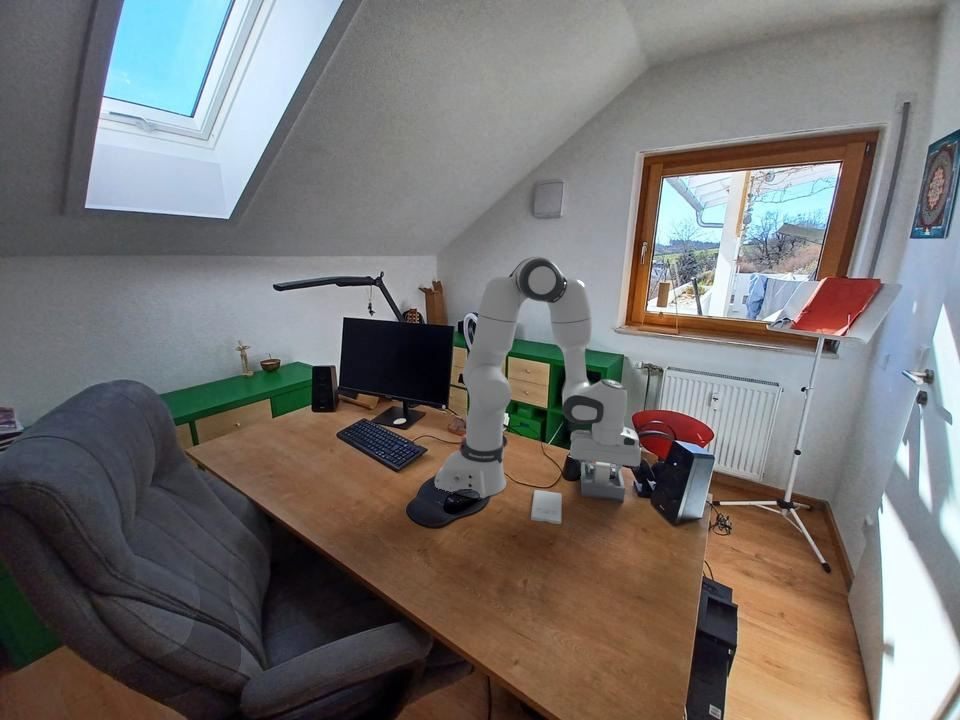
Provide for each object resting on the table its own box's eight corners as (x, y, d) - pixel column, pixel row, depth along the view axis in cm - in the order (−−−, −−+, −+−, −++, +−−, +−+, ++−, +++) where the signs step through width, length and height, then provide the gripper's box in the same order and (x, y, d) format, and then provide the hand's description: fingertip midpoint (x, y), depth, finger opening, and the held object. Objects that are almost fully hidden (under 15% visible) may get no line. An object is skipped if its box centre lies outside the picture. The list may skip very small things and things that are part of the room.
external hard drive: (561, 498, 116) (560, 526, 104) (533, 494, 117) (530, 521, 106) (561, 493, 115) (561, 521, 104) (534, 489, 117) (530, 516, 105)
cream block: (594, 487, 118) (596, 467, 116) (593, 479, 122) (595, 460, 120) (608, 488, 117) (610, 468, 115) (606, 481, 121) (609, 461, 119)
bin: (581, 496, 116) (582, 483, 114) (580, 473, 127) (581, 461, 125) (623, 502, 113) (625, 488, 112) (618, 478, 124) (620, 466, 123)
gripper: (571, 433, 114) (567, 474, 118) (644, 442, 110) (638, 484, 114) (571, 424, 120) (567, 463, 124) (641, 431, 115) (634, 472, 119)
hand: (602, 473), depth 119 cm, fingers open, 5 cm apart
